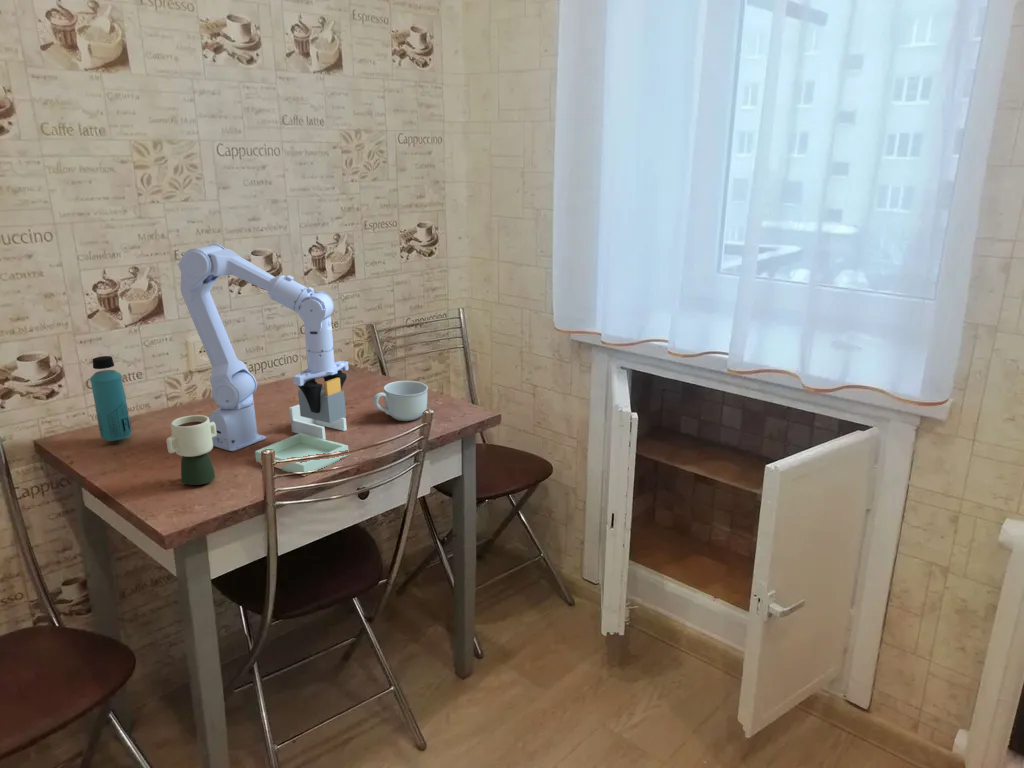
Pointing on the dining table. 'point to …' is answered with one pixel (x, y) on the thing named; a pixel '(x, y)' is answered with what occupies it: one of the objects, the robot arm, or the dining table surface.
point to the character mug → (193, 447)
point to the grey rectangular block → (326, 403)
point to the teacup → (403, 400)
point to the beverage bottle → (110, 401)
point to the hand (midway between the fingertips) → (324, 408)
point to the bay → (312, 424)
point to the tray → (304, 452)
